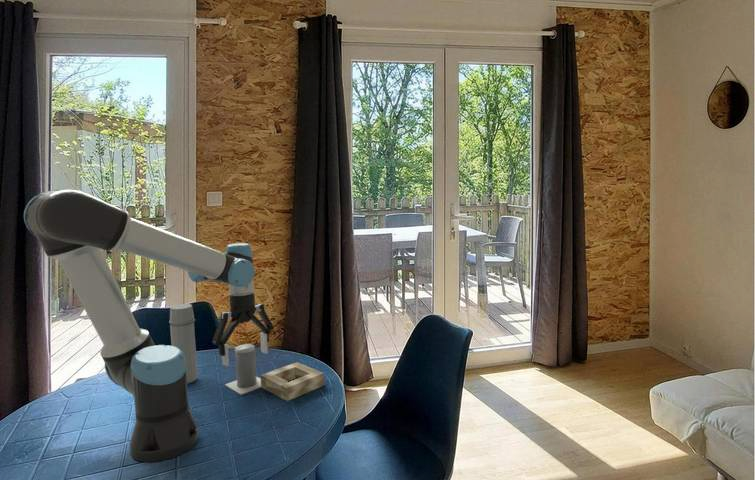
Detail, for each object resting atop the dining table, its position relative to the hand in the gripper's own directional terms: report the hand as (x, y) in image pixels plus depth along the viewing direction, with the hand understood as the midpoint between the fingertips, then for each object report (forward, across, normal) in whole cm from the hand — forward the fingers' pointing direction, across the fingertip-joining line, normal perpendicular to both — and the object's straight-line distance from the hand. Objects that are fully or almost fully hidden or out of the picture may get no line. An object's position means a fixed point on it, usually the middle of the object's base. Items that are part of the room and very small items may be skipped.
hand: (245, 358), depth 141 cm
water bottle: (+9, -11, +19) cm, 24 cm away
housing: (+9, +9, -12) cm, 17 cm away
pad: (+9, 0, 0) cm, 9 cm away
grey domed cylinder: (+8, 0, 0) cm, 8 cm away
